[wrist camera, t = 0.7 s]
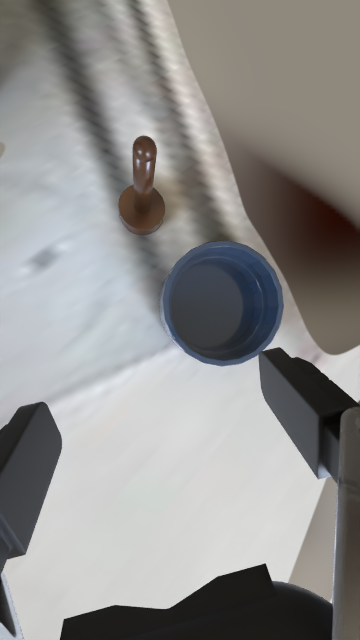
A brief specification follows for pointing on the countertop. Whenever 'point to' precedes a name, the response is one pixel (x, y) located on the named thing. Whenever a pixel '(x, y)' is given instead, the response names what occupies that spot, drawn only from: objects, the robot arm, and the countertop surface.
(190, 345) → the bowl
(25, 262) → the countertop surface
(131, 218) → the brown stamp
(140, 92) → the countertop surface
